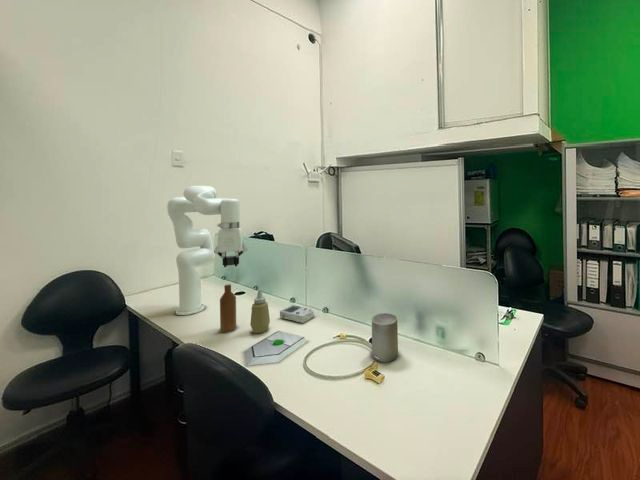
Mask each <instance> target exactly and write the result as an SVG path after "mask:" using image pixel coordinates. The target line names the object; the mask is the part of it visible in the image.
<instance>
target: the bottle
mask: <svg viewBox="0 0 640 480" xmlns="http://www.w3.org/2000/svg"><path fill="white" fill-rule="evenodd" d="M219 319H220V320H219V327H220V333H223V334H224V333H231V332H234V331H236V329H237V296H236V294H235V293H233V291H232V284H231V283H228V284H224V292H223V294H222V295H221V296H220V299H219Z"/></svg>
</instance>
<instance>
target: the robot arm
mask: <svg viewBox="0 0 640 480" xmlns="http://www.w3.org/2000/svg"><path fill="white" fill-rule="evenodd" d="M182 195H183V196H176V197H173V198H170V199H169V200H168V201H167V204H166V205H167V206H166V208H167V210H166V211H167V214H168V216H169V219H170V220H171V222H172V224H173V230H174V236H175V241H176V245H177V247H178V248H180V249H188V250H184V251H181V252H179V253H178V254H177V255H176V257H175V261H176V266H177V271H178V272H177V273H178V299H179V301H178V305H179V308H177V309H176V310H175V315H178V316H188V315H193V314H197V313H199V312H202V311H203V310H205V304H204V303H202V281H201V280H202V277H201V273H200V272H199V271H198V270H197V269H196V268H199V267H204V266H209V265H211V264H213V263H214V262H215V258H216V255H218V256H219V257H220V258H221V259H222V266H223V268H227V267H228V265H226V257H227V253H230V252H231V253H233V252H234V254H235V255H234V256H235V265H234V267H237V266H239V264H240V256H242V254H244V253H245V252H247V251H248V248H247V246H246V245H245V243H244V236H243V230H242V228H240V227H241V225H240V223H241V221H240V219H241V218H240V200H239V199H237V198H228V197H224V198H223V197H219V198H218V197H217V190H216V188H215V187H213V186H211V185H190V186H187V187H186V188H185V189H184V190H183V194H182ZM185 213H198V214H200V215H204V216H218V215H220V223H217V224H216V225H217V228H220V229H218V232H217V243H216V247H215V248H214V243H213V239H212V235H211V233H210V231H209V230H208V229H207V228H195V227H194V223H193V220H192V219H191V217H189V216H188V215H187V214H185ZM196 247H199V248H196ZM191 248H193V249H191ZM215 254H216V255H215Z"/></svg>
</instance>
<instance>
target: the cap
mask: <svg viewBox="0 0 640 480" xmlns="http://www.w3.org/2000/svg"><path fill="white" fill-rule="evenodd" d="M235 256H236V255H226V265H227V266H235Z"/></svg>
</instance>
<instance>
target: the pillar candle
mask: <svg viewBox="0 0 640 480" xmlns="http://www.w3.org/2000/svg"><path fill="white" fill-rule="evenodd" d="M370 320H371V355H372V358H373V360H376V361H378V362H381V363H388V362H389V363H390V362H393V361H394V360H396V359H397V357H398V356H399V338H398V337H399V333H398V329H399V328H398V326H399V325H398V317H397V316H396V315H394V314H392V313H388V312H381V313H377V314H374V315H372V317H371V318H370ZM375 356H376V357H378V358H379V359H378V358H376V357H375Z"/></svg>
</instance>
